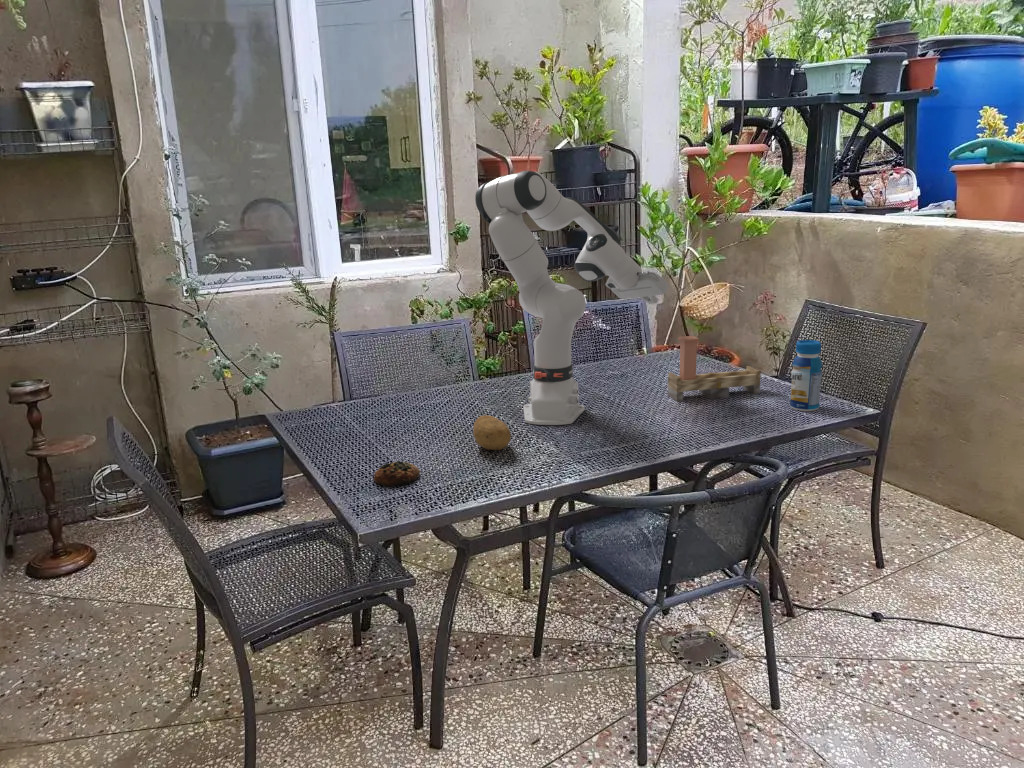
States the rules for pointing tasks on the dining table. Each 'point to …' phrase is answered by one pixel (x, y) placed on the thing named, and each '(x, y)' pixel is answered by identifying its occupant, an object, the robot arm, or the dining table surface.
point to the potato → (491, 433)
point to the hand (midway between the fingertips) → (654, 301)
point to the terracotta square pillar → (688, 357)
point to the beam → (715, 383)
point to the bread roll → (396, 474)
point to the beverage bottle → (806, 376)
